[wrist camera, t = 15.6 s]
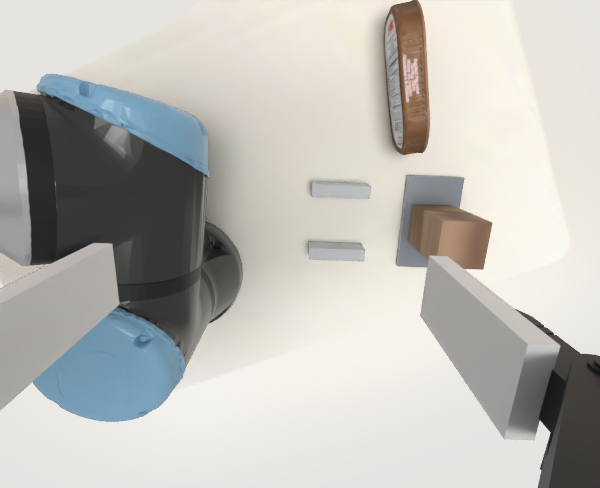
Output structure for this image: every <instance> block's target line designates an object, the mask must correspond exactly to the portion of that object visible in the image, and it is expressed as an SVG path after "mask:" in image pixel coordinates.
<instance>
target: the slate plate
mask: <svg viewBox="0 0 600 488" xmlns="http://www.w3.org/2000/svg"><path fill="white" fill-rule="evenodd" d="M463 183H464V178H463V177H444V176H418V175H407V176H406V184H405V193H404V201H403V209H402V218H401V226H400V234H399V243H398V251H397V259H396V265H397V266H406V267H428V260H427V259H426V258H425V257H424V256H423V255H421V254H420V253H419V252H418V251H417V250H416V249H415V248H414V247H413V246H412V245H411V244H410V243H409V242H408V236H409V228H410V220H411V212H412V205H413V204H429V205H452V206H454V207H457V208H459V207H460V201H461V195H462V189H463Z"/></svg>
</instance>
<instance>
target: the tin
mask: <svg viewBox="0 0 600 488" xmlns="http://www.w3.org/2000/svg"><path fill="white" fill-rule="evenodd" d="M384 45H385V62H386V77H387V91H388V103H389V113H390V124H391V131H392V137H393V141H394V145H395V147H396V149H397V151H398V152H399V153H401V154H402V155H406V154H412V153H423V152H424V151H425V149H426V147H427V144H428V138H429V128H430V113H429V92H428V74H427V53H426V32H425V23H424V16H423V12H422V9H421V5H420V3H419V2H418V0H412V1H411V2H406V3H401V4H396V5H393V6H392V7H391V9H390V11H389V14H388V16H387V18H386V22H385V37H384Z"/></svg>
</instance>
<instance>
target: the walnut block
mask: <svg viewBox="0 0 600 488" xmlns="http://www.w3.org/2000/svg"><path fill="white" fill-rule="evenodd" d="M491 227H492V222H489V221H487V220H485V219H482V218H480V217H478V216H475V215H473V214H471V213H468V212H466V211H464V210H461V209H459V208H457V207H454V206H452V205H429V204H413V205H412V212H411V220H410V228H409V236H408V242H409V243H410V244H411V245H412V246H413V247H414V248H415V249H416V250H417V251H418V252H419V253H420V254H421V255H423V256H424V257H425V258H426V259H427V260H429V256H448V257H449V258H450V259H452V260H453V261H454V262H455V263H457V264H458V265H459V266H461V267H462V268H463V269H483V268H484V263H485V258H486V253H487V247H488V242H489V237H490V232H491Z"/></svg>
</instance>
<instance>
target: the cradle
mask: <svg viewBox="0 0 600 488" xmlns="http://www.w3.org/2000/svg"><path fill="white" fill-rule="evenodd" d="M370 190H371V186H369V185H368V184H366V183H340V182H314V181H312V187H311V195H312V197H335V198H361V199H370ZM364 254H365V249H364V248H363V246H362V244H361V243H335V242H309V259H314V260H341V261H364Z"/></svg>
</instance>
